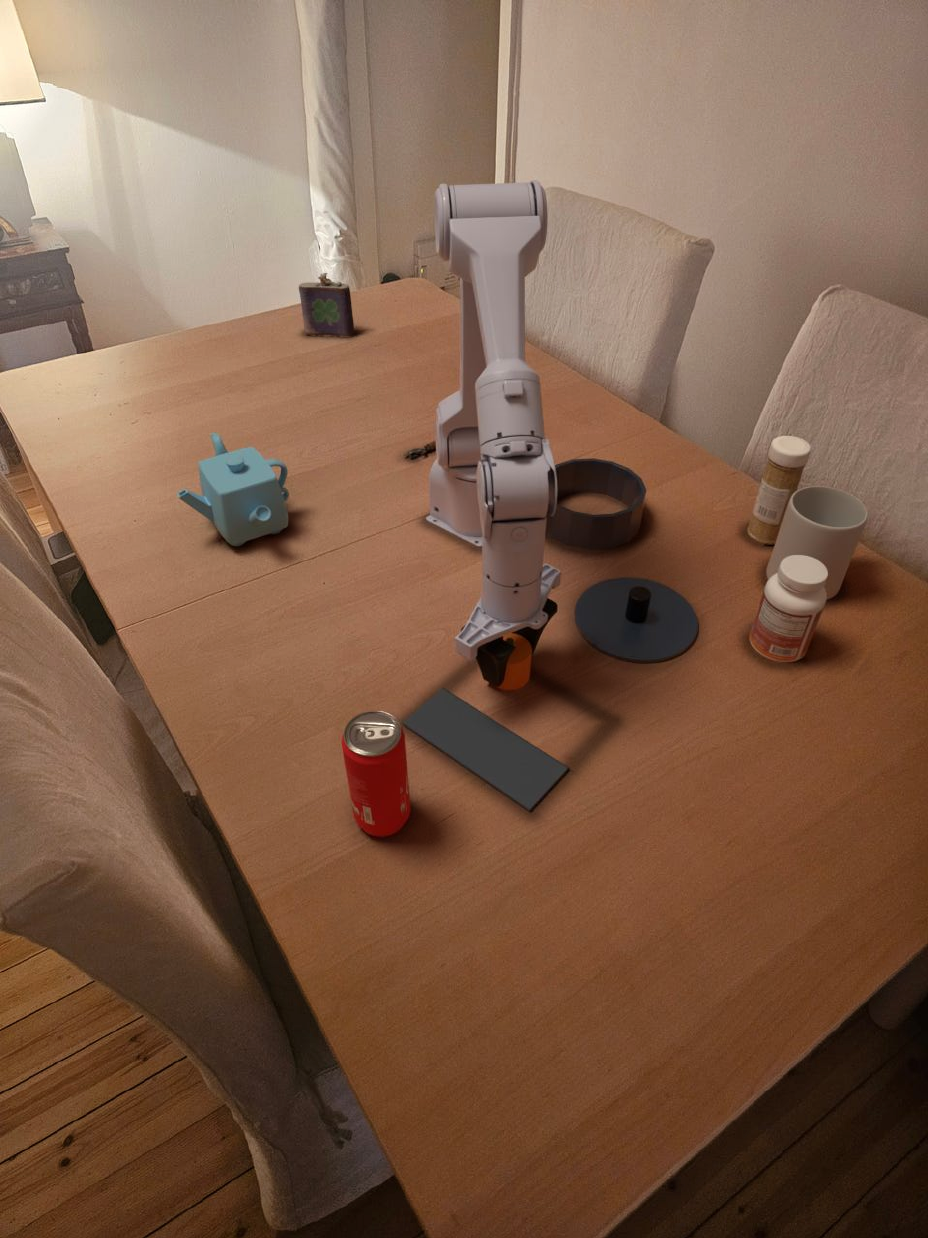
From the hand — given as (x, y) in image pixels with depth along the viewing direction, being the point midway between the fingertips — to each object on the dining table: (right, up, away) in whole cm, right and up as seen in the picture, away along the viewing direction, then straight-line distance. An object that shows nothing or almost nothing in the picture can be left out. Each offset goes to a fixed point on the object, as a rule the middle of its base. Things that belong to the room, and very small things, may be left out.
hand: (507, 667), depth 87 cm
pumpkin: (0, -1, +1) cm, 1 cm away
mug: (+38, +10, +13) cm, 41 cm away
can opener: (-10, +30, +35) cm, 47 cm away
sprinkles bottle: (+34, +16, +19) cm, 42 cm away
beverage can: (-12, -13, -11) cm, 21 cm away
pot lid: (+15, +5, +7) cm, 17 cm away
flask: (-29, +57, +64) cm, 91 cm away
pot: (+12, +18, +22) cm, 30 cm away
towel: (0, -5, -4) cm, 7 cm away
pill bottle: (+30, +2, +5) cm, 31 cm away
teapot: (-34, +17, +21) cm, 43 cm away
